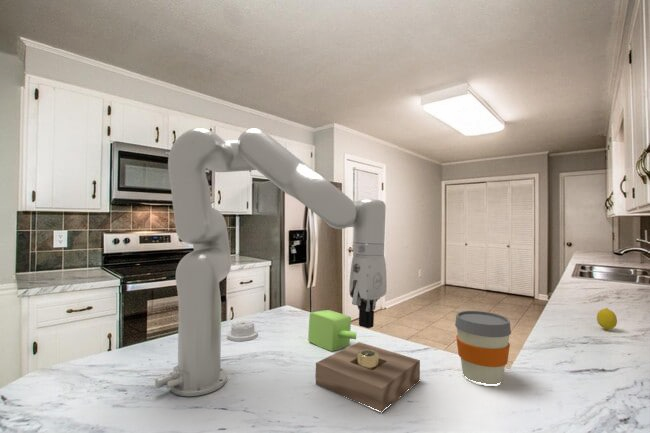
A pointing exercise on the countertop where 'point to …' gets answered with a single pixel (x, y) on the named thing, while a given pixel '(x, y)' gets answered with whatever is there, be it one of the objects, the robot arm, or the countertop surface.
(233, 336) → the mechanical component
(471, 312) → the reusable coffee cup
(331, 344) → the gearbox
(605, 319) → the lemon
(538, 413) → the countertop surface
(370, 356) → the bushing
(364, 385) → the block
